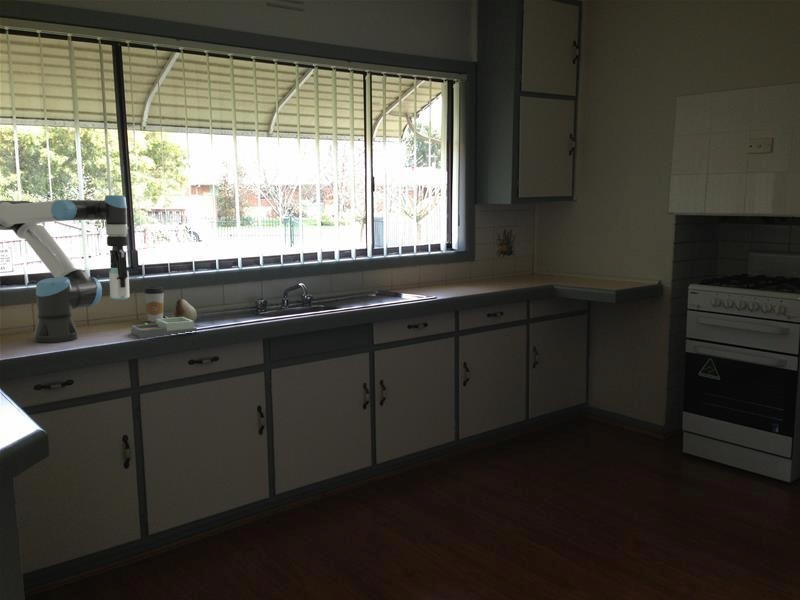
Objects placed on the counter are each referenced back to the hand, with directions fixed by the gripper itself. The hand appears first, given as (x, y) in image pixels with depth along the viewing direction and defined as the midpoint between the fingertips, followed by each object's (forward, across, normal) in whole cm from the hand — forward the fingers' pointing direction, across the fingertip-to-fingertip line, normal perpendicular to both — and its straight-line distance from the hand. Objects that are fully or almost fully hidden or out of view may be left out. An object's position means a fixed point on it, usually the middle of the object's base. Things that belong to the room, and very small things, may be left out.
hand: (119, 294), depth 274 cm
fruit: (+17, +13, -30) cm, 37 cm away
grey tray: (+17, -2, -16) cm, 23 cm away
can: (+2, 0, 0) cm, 2 cm away
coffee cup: (+17, +32, -23) cm, 43 cm away
